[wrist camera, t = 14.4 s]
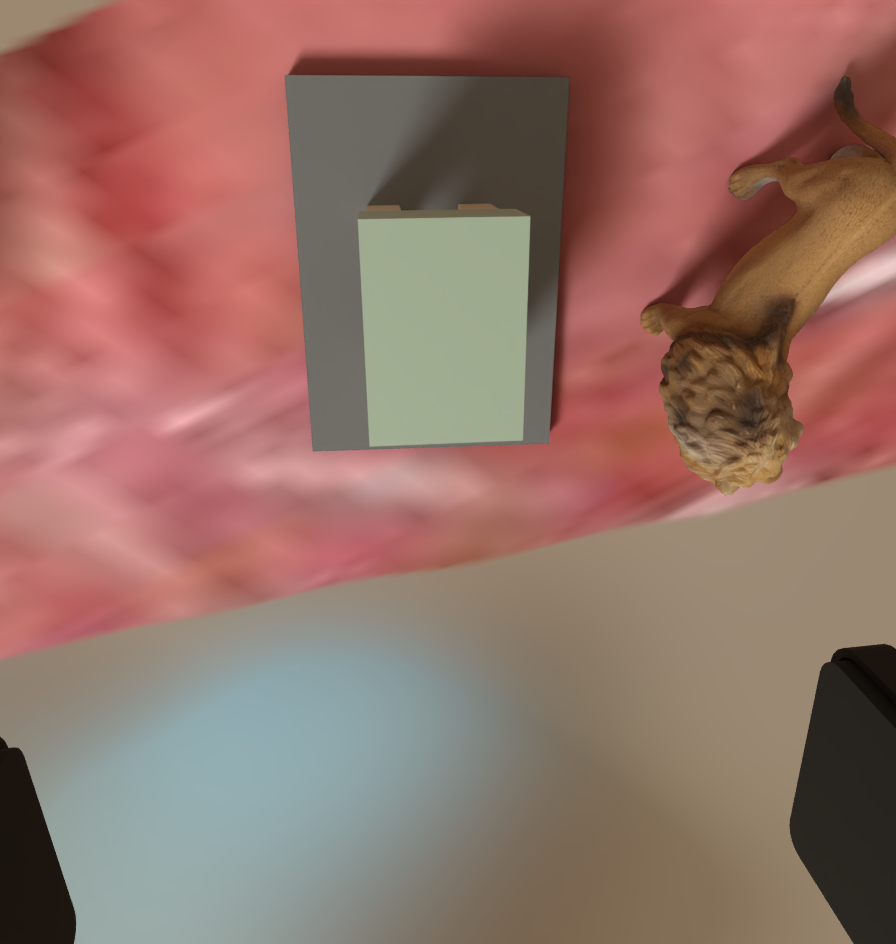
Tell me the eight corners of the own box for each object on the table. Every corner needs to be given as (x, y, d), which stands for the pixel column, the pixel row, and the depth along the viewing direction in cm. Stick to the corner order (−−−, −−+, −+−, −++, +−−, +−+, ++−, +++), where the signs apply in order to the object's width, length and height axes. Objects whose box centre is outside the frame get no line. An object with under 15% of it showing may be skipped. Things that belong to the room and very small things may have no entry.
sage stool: (361, 199, 28) (357, 219, 22) (495, 198, 29) (530, 216, 23) (370, 382, 31) (369, 446, 25) (492, 378, 32) (522, 440, 25)
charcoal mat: (314, 444, 33) (312, 451, 32) (287, 76, 27) (284, 75, 27) (545, 437, 34) (548, 443, 33) (564, 78, 28) (570, 76, 27)
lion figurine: (694, 439, 35) (795, 534, 26) (591, 396, 33) (663, 482, 25) (889, 107, 30) (1086, 97, 21) (777, 42, 28) (941, 5, 20)
